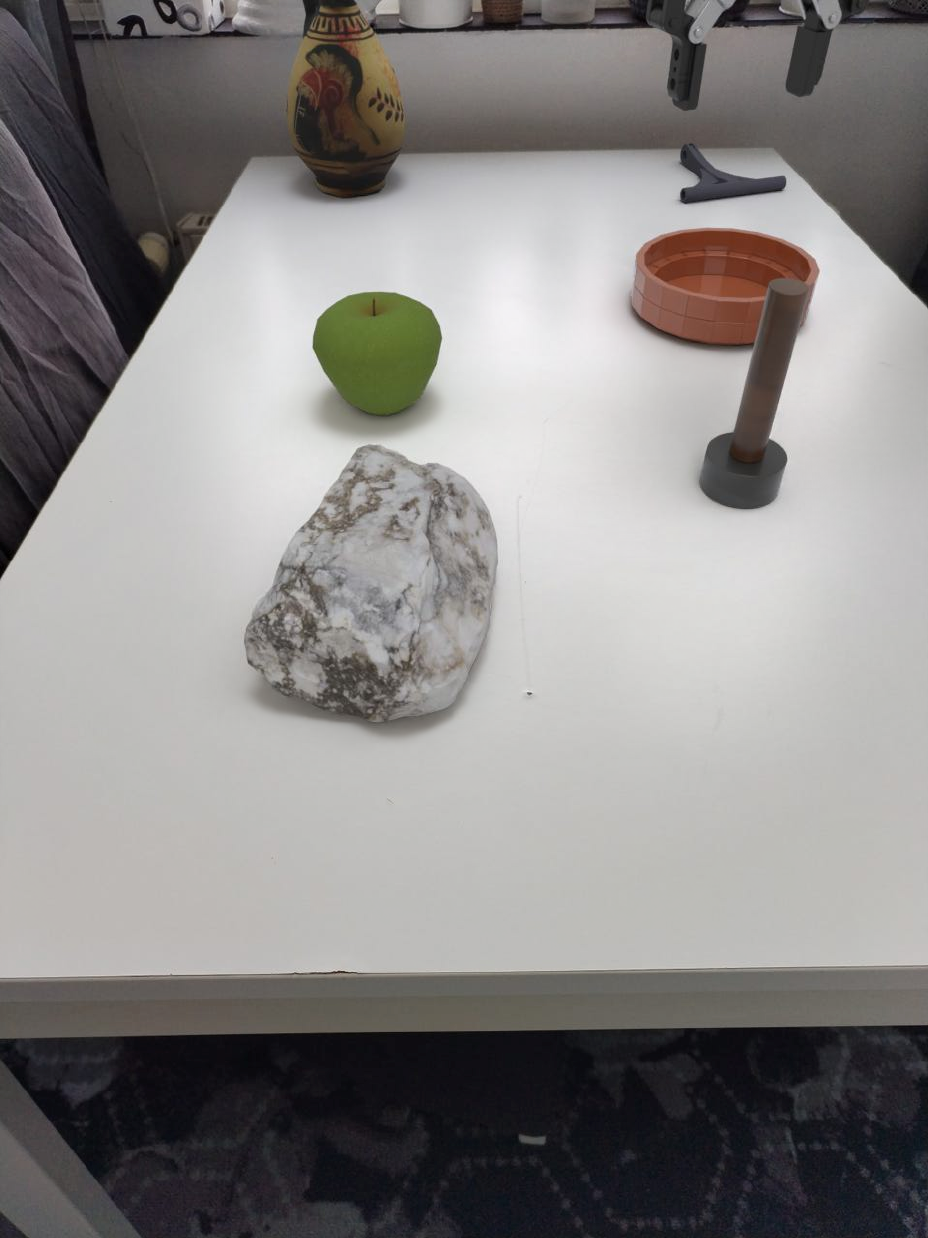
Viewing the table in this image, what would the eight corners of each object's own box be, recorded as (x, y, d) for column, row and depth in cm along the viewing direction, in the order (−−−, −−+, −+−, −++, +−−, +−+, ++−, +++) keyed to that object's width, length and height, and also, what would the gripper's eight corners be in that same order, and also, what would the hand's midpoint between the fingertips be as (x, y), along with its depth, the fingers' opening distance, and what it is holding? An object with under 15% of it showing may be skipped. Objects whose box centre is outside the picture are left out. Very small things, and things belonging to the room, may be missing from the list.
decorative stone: (353, 491, 65) (358, 391, 57) (520, 550, 65) (550, 457, 56) (236, 703, 55) (222, 618, 46) (435, 776, 54) (457, 703, 45)
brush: (758, 459, 70) (810, 263, 59) (791, 503, 66) (854, 301, 55) (688, 468, 69) (727, 271, 58) (717, 513, 65) (765, 310, 54)
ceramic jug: (431, 176, 119) (419, -105, 98) (364, 213, 110) (335, -89, 89) (334, 157, 126) (303, -111, 105) (264, 190, 117) (214, -96, 95)
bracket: (728, 156, 123) (732, 134, 121) (784, 190, 113) (789, 167, 111) (636, 168, 120) (638, 146, 118) (684, 205, 110) (688, 181, 108)
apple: (457, 382, 80) (454, 275, 73) (423, 444, 73) (416, 332, 65) (348, 368, 82) (335, 263, 75) (304, 427, 75) (285, 317, 68)
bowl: (760, 267, 96) (771, 221, 93) (836, 340, 84) (852, 290, 80) (609, 282, 94) (614, 235, 91) (664, 359, 82) (672, 309, 78)
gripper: (721, -242, 42) (671, 129, 53) (966, -251, 45) (869, 103, 56) (651, -241, 47) (619, 98, 58) (875, -249, 50) (803, 75, 61)
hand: (741, 100), depth 57 cm, fingers open, 8 cm apart
